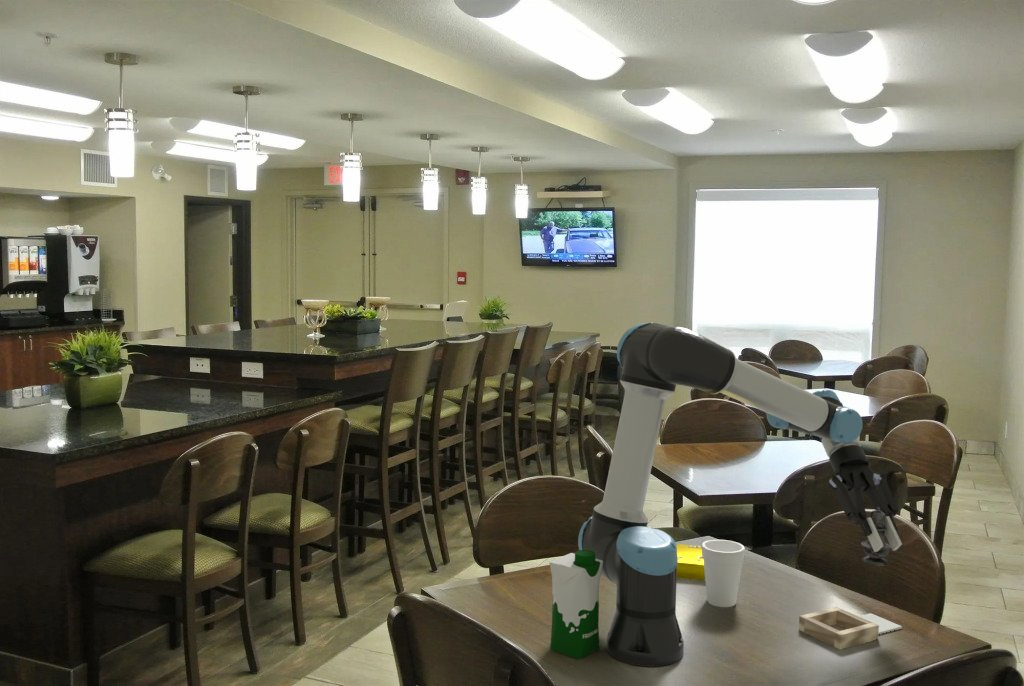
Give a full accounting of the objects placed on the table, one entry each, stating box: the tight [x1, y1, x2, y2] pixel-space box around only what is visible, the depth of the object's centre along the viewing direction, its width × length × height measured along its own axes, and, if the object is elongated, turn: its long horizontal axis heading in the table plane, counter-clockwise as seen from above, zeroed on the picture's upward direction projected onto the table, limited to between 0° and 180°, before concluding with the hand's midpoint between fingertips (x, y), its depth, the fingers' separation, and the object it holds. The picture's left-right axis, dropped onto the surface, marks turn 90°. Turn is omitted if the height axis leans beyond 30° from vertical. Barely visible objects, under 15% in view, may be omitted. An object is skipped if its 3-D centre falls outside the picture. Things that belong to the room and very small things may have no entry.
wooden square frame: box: [798, 606, 879, 651], centre depth 188 cm, size 11×11×3 cm
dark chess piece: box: [861, 506, 892, 567], centre depth 191 cm, size 6×6×12 cm
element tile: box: [676, 543, 705, 581], centre depth 226 cm, size 15×15×5 cm
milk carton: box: [548, 549, 603, 660], centre depth 179 cm, size 9×9×20 cm
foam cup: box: [701, 539, 746, 608], centre depth 205 cm, size 10×9×13 cm
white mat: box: [858, 613, 903, 636], centre depth 193 cm, size 8×8×1 cm
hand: (888, 547), depth 187 cm, fingers closed on dark chess piece, 4 cm apart
